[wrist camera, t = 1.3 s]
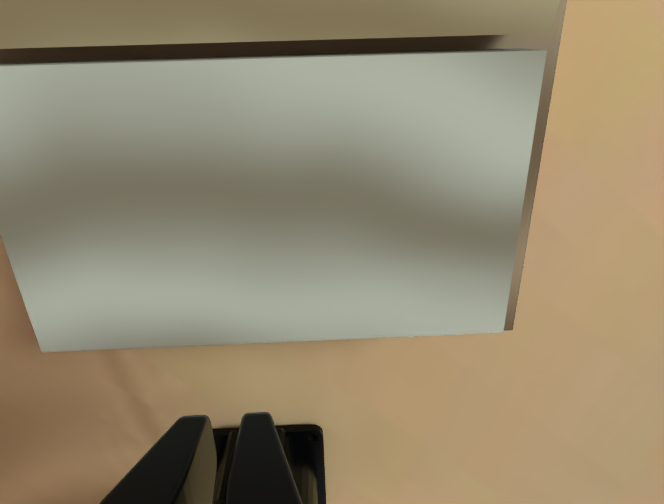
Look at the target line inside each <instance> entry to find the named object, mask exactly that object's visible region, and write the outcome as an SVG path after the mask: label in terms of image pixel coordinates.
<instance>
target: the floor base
mask: <svg viewBox="0 0 664 504" xmlns="http://www.w3.org/2000/svg"><path fill="white" fill-rule="evenodd" d="M566 2H567V0H560V3H559V6H558V8H557V11H556V14H555V17H554V20H553V23H552V26H551V29H550V31H549V33H543V34H507V35H472V36H437V37H401V38H366V39H331V40H295V41H260V42H225V43H189V44H154V45H119V46H83V47H48V48H13V49H0V235H1V238H2V241H3V244H4V247H5V250H6V253H7V255H8V258H9V261H10V264H11V267H12V270H13V272H14V275H15V278H16V281H17V284H18V287H19V290H20V292H21V295H22V298H23V301H24V304H25V307H26V310H27V312H28V315H29V318H30V321H31V324H32V327H33V329H34V332H35V335H36V338H37V341H38V344H39V347H40V349H41V352H63V351H86V350H109V349H132V348H156V347H179V346H202V345H225V344H248V343H271V342H294V341H317V340H340V339H364V338H387V337H410V336H433V335H456V334H479V333H502V332H503V331H504V330H513V324H514V318H515V312H516V306H517V300H518V294H519V288H520V282H521V276H522V270H523V264H524V258H525V252H526V245H527V239H528V233H529V227H530V221H531V215H532V209H533V203H534V197H535V191H536V185H537V179H538V173H539V166H540V160H541V154H542V148H543V142H544V136H545V130H546V124H547V118H548V112H549V106H550V100H551V94H552V88H553V81H554V75H555V69H556V63H557V57H558V51H559V45H560V39H561V33H562V27H563V21H564V15H565V9H566Z"/></svg>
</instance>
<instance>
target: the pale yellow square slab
mask: <svg viewBox="0 0 664 504" xmlns="http://www.w3.org/2000/svg"><path fill="white" fill-rule="evenodd" d="M559 3H560V0H0V49H13V48H48V47H83V46H119V45H154V44H189V43H225V42H260V41H295V40H331V39H366V38H401V37H437V36H472V35H507V34H543V33H549V31H550V29H551V26H552V23H553V20H554V17H555V14H556V11H557V8H558V6H559Z"/></svg>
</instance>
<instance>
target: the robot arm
mask: <svg viewBox="0 0 664 504" xmlns="http://www.w3.org/2000/svg"><path fill="white" fill-rule="evenodd" d="M312 434H315V435H314V436H312ZM99 504H326V489H325V467H324V444H323V430H322V428H321V427H320V426H317V425H297V426H276V427H275V425H274V422H273V419H272V416H271V415H270V413H268V412H257V413H246V414H245V415H244V416H243V417H242V420H241V424H240V428H234V429H212V426H211V421H210V419H209V417H208V416H206V415H192V416H183V417H181V418H179V419H178V420H177V421H176V422H175V423H174V424H173V425H172V426H171V427H170V429H169V430H168V431H167V432H166V433H165V434H164V435H163V436H162V437H161V438H160V439H159V440H158V441H157V442H156V443H155V445H154V446H153V447H152V448H151V449H150V450H149V451H148V452H147V453H146V454H145V455H144V456H143V457H142V458H141V459H140V461H139V462H138V463H137V464H136V465H135V466H134V467H133V468H132V469H131V470H130V471H129V472H128V473H127V474H126V475H125V477H124V478H123V479H122V480H121V481H120V482H119V483H118V484H117V485H116V486H115V487H114V488H113V489H112V490H111V491H110V493H109V494H108V495H107V496H106V497H105V498H104V499H103V500H102V501H101V502H100V503H99Z"/></svg>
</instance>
